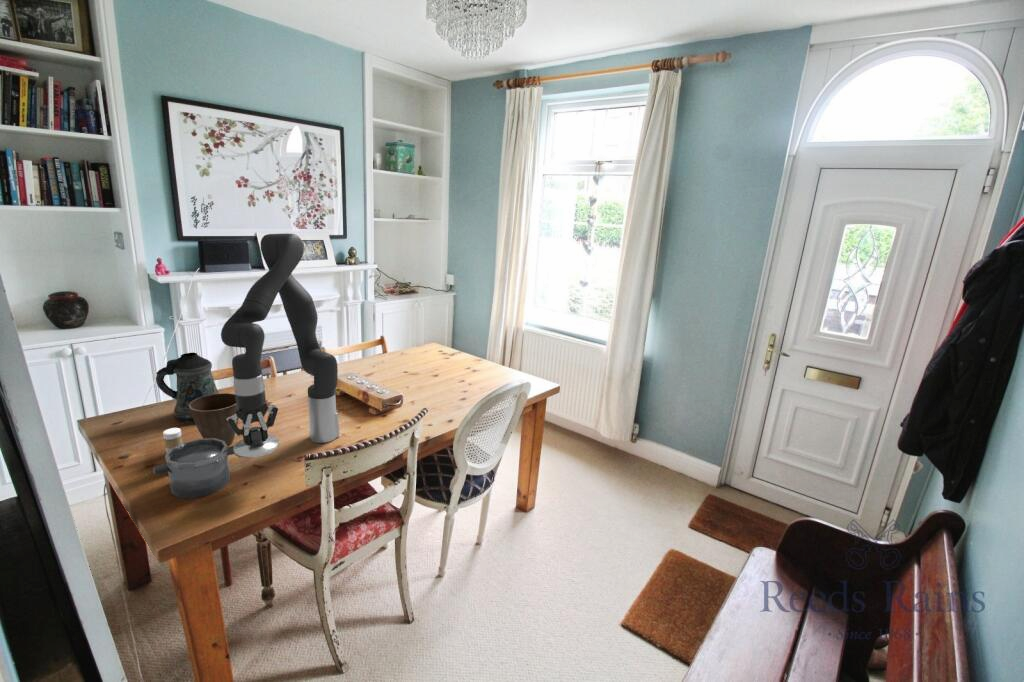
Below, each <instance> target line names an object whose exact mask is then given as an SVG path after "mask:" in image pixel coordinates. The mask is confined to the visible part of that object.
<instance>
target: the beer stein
mask: <svg viewBox="0 0 1024 682" xmlns="http://www.w3.org/2000/svg"><path fill="white" fill-rule="evenodd" d="M212 366H213V363H212V361H210V359H207V358H204V357H202V356H200V355H199V354H198V353H197V352H188V353H187V352H186V353H182V354H180V357H178V358H174V359H169V360H168V361H167V362H166V366H165V367H162V368H160V369H159V370H158V371H157V372H156V376H155V382H156V385H157V387H158V388H159V390H160V391H162V393H164V394H165V395H167V396H168V397H169V398H172V399H174V400H176V403H175V407H174V408H173V409H174V410H173V414H174V416H175V418H176V421H178V422H179V423H182V424H187V425H188V424H191V425H193V424H195V422H194V419H193V417H192V414H191V411H190V408H189V404H190V403H191V402H192V401H193V400H195V399H197V398H200V397H203V396H207V395H212V394H220V393H219V391H218V388H217V385H216V383H215V379H214V376H213V374H212V368H213V367H212ZM166 375H167V376H171V375H172V376H173V375H176V390H174V389H173V388H171V387H170V386H168V385H167V383H166V382H165V377H166ZM195 425H196V424H195Z"/></svg>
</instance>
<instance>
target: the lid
mask: <svg viewBox="0 0 1024 682" xmlns="http://www.w3.org/2000/svg"><path fill="white" fill-rule="evenodd" d="M249 435H250V441H251V446H248V445H246V444H245V443H244V441H243V438H241V440H239V441H237V442H236V443H235V444H234V445H233V446H234V448H233V450H234V454H233V455H234V456H236V457H238V458H241V459H256V458H259V457H264V456H267V455H270V454H271V453H274V452H275V450H278V448H279V447H280V440H279V438H278V437H277V436H276V435H273V434H268V439H266V441H264V442H263V436H262V428H261V426H252V427H250V428H249Z"/></svg>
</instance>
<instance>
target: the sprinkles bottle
mask: <svg viewBox="0 0 1024 682" xmlns="http://www.w3.org/2000/svg"><path fill="white" fill-rule="evenodd" d="M162 437H163V440H164V446H165V453H166V454H167V453H168V452H169V450H170V449H171V448H173V447H175V446H178V445H180V444H182V443H183V440H182V430H181V428H179V427H171V428H168V429H167V428H166V429H165V430H164V431H163V432H162ZM166 454H165V455H166Z"/></svg>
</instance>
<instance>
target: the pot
mask: <svg viewBox="0 0 1024 682" xmlns="http://www.w3.org/2000/svg"><path fill="white" fill-rule="evenodd" d="M234 446H235V445H232V446H231V445H230V446H227V444H226V443H225V441H223V440H219V439H216V438H204V439H203V438H197V439H192V440H188V441H184V442H182V444H180V445H178V446H175V447H173V448H171V449H170V450H169V452H168V453H167V454H165V455H164V458H165V461H166V463H163V464H158V465H154V466H153V467H152V469H153V473H154V475H155V476H158V475H161V474H165V473H168V479H169V486H170V487H169V488H170V492H171V494H172V495H173V496H174V497H176V498H179V499H197V498H203V497H207V496H209V495H212V494H214V493H217V492H219V491H221V490H222V489H224V488H225V487H226V486H227V485H228V484H229V482H230V481H231V473H230V465H229V457H228V456H231V455H235V454H234V450H233V448H234Z"/></svg>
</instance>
